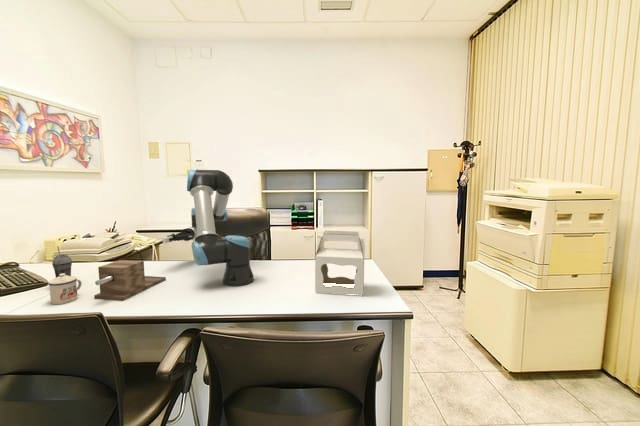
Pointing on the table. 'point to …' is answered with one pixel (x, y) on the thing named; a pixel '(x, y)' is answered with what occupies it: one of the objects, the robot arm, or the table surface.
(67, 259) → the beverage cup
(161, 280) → the block
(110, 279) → the plunger
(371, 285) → the table surface
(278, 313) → the table surface
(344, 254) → the gable box
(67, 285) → the teacup with lid
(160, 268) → the table surface
